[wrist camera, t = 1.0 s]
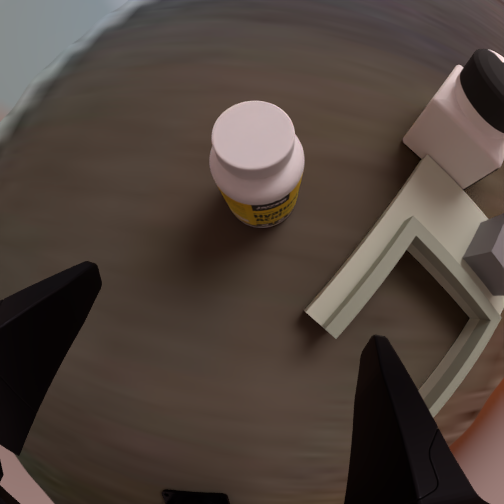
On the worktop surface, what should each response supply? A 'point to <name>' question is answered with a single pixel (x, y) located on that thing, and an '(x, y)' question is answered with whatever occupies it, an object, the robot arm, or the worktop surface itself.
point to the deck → (428, 268)
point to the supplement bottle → (257, 162)
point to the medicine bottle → (465, 121)
